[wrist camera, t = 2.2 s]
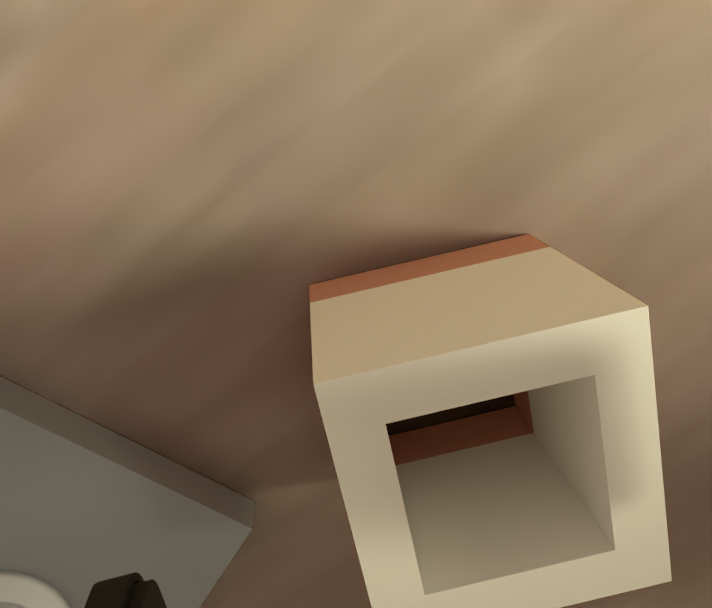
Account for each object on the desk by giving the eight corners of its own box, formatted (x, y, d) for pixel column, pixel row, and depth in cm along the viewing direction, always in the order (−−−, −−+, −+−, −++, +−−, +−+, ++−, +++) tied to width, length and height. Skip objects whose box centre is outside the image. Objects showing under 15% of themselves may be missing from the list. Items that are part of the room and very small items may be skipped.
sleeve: (528, 234, 17) (648, 305, 11) (556, 429, 18) (672, 581, 13) (309, 284, 17) (313, 384, 11) (357, 476, 18) (383, 649, 13)
